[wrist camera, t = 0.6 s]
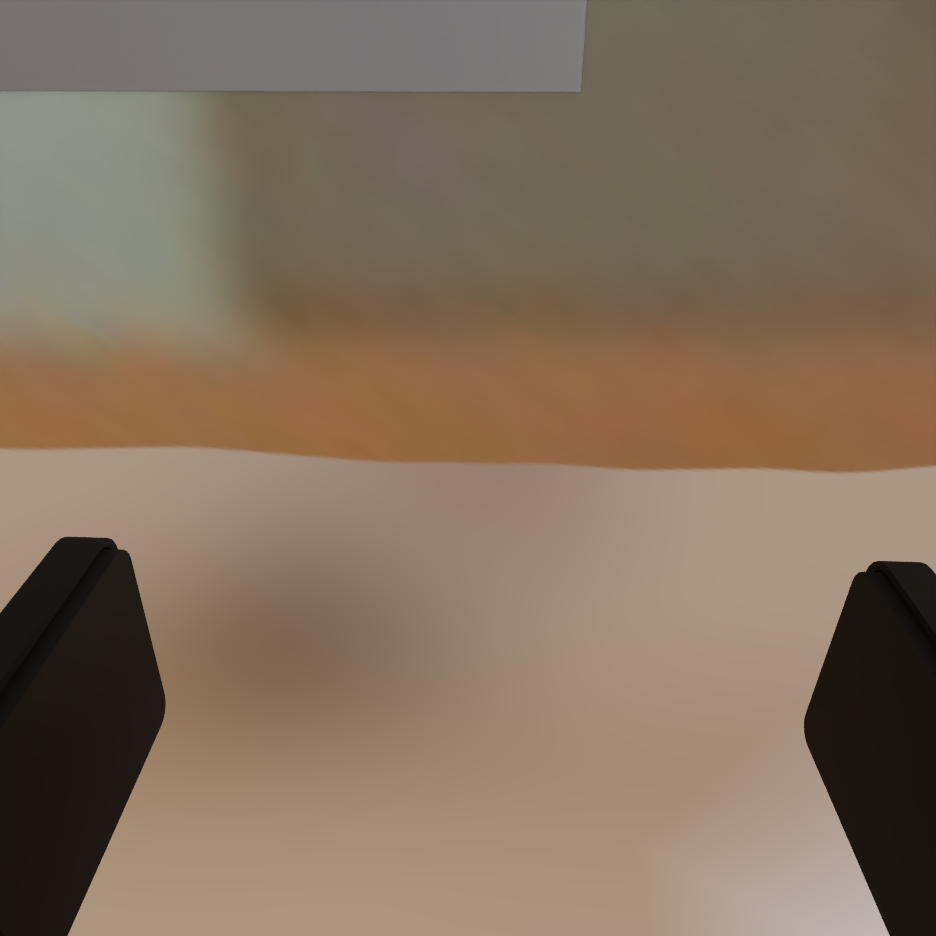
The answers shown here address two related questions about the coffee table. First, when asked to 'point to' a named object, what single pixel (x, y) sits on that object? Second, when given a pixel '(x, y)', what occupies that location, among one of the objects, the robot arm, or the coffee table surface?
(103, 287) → the coffee table surface
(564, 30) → the mat
